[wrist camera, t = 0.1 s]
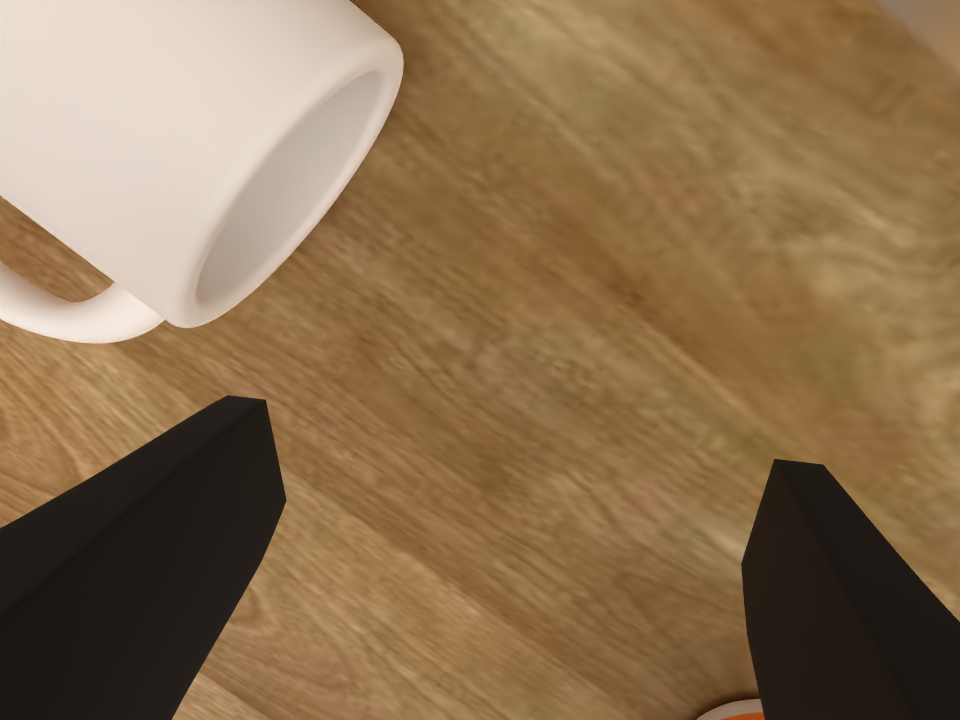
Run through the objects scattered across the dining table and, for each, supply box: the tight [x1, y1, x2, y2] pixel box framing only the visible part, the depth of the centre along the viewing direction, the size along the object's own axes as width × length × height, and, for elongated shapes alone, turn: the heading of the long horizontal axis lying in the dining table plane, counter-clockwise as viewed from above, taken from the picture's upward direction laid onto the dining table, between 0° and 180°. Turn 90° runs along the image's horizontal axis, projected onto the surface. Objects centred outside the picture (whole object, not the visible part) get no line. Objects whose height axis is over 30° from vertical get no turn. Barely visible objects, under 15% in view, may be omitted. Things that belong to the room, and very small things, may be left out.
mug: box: [0, 0, 404, 343], centre depth 16 cm, size 12×10×8 cm
